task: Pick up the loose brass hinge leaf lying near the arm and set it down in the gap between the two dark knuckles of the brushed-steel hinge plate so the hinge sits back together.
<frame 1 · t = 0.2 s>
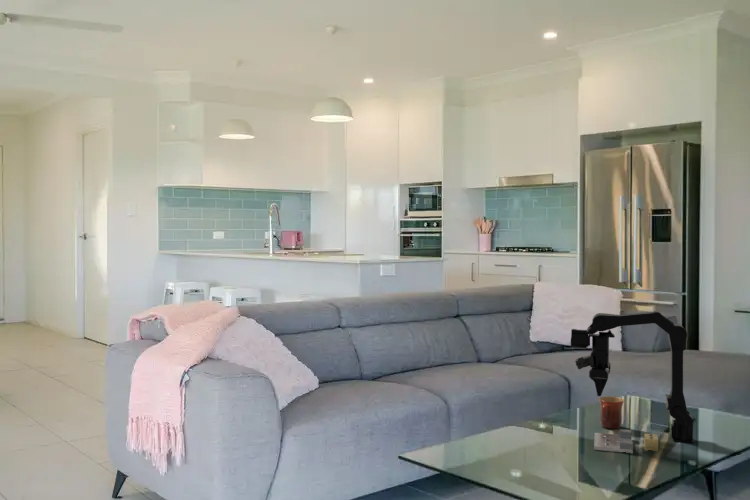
hand: (600, 393, 260), 14 cm above the table, fingers open, 9 cm apart
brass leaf: (650, 448, 244), on the table
mug: (609, 428, 267), on the table
steel hinge plate: (612, 444, 248), on the table
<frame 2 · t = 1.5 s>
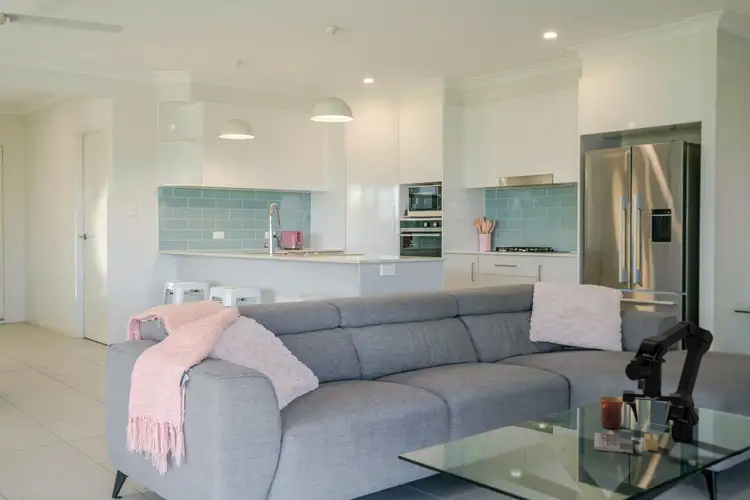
hand: (651, 423, 244), 8 cm above the table, fingers open, 9 cm apart
nothing on the table moved.
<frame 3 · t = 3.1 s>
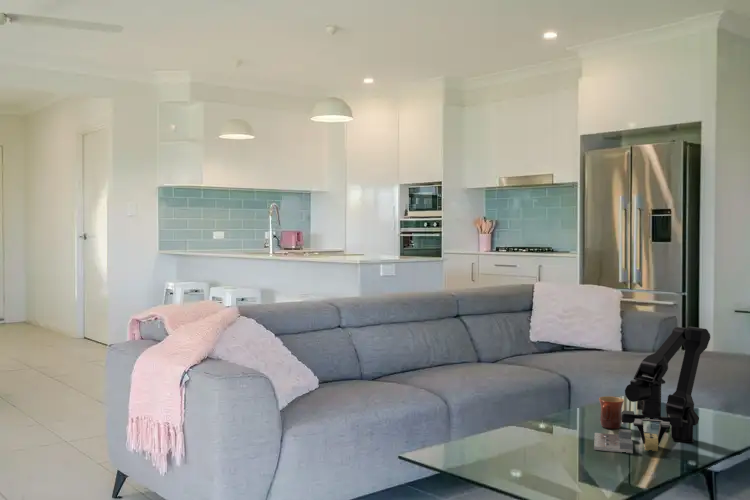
hand: (650, 444, 244), 1 cm above the table, fingers closed on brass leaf, 4 cm apart
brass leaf: (650, 447, 244), on the table, touching gripper
everything else where it was.
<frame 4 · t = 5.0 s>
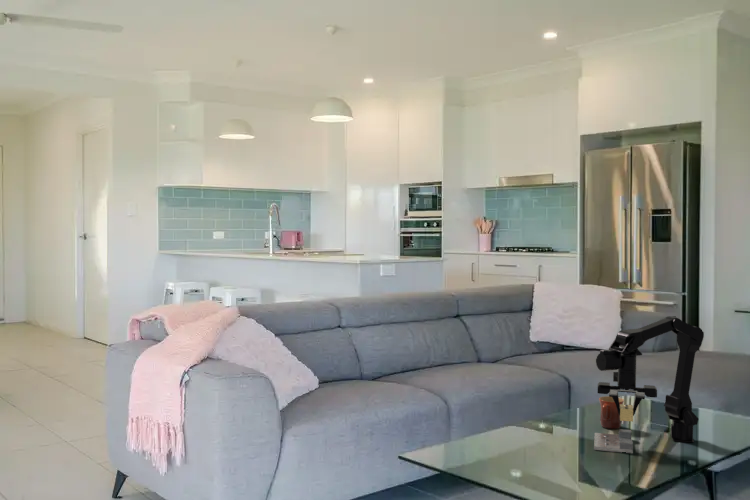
hand: (626, 415, 246), 10 cm above the table, fingers closed on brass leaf, 4 cm apart
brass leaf: (626, 418, 246), point 9 cm above the table, touching gripper
everything else where it was.
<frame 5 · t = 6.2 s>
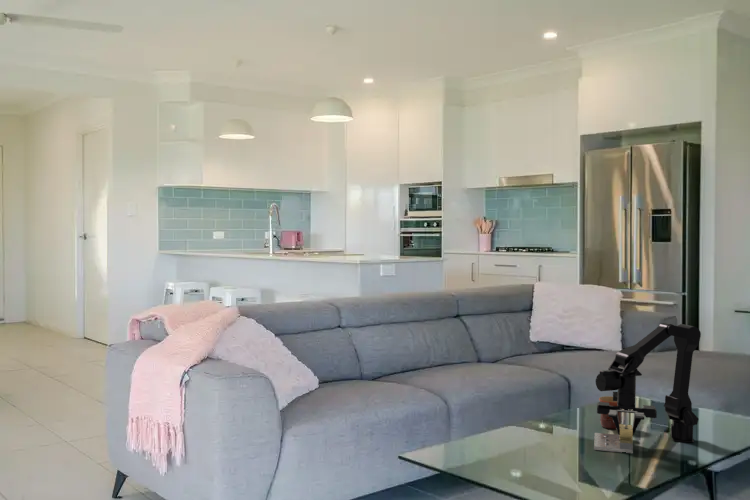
hand: (625, 435, 247), 4 cm above the table, fingers closed on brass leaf, 4 cm apart
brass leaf: (625, 438, 247), point 2 cm above the table, touching gripper
everything else where it was.
when the fingers open (3 cm above the table, at t = 6.8 s): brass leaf drops 1 cm, resting on steel hinge plate.
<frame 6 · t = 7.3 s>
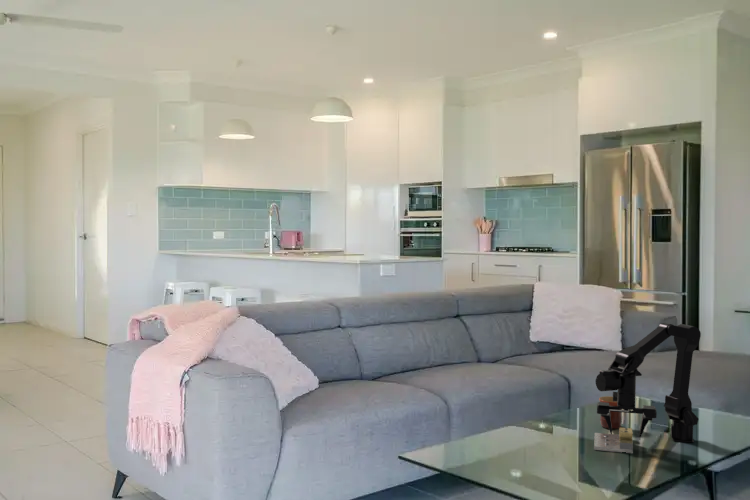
hand: (625, 435, 247), 3 cm above the table, fingers open, 9 cm apart
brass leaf: (625, 442, 247), point 1 cm above the table, touching steel hinge plate
everything else where it was.
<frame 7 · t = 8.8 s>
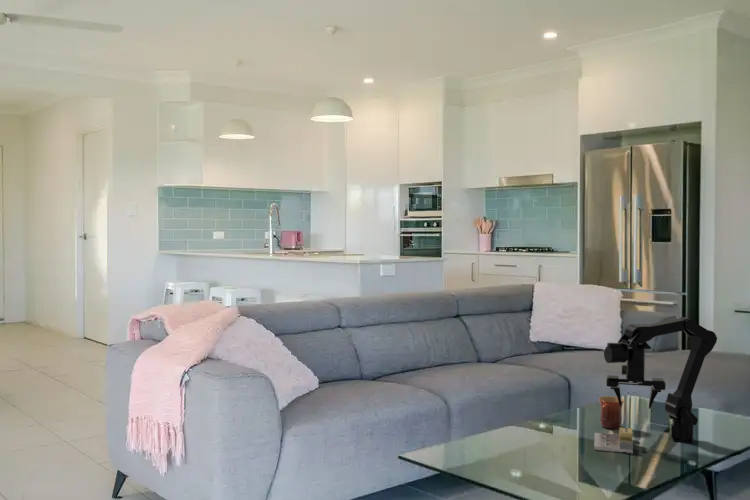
hand: (635, 407, 250), 12 cm above the table, fingers open, 9 cm apart
nothing on the table moved.
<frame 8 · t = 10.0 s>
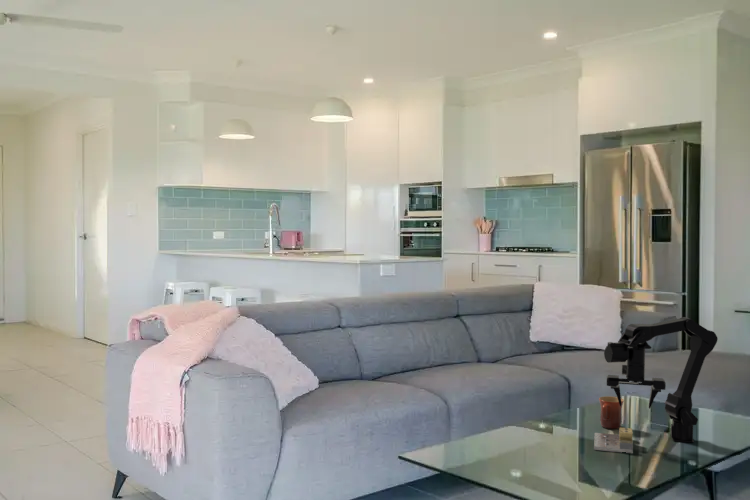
hand: (634, 407, 250), 12 cm above the table, fingers open, 9 cm apart
nothing on the table moved.
at the end: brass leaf inside the target area on the steel hinge plate (0.0 cm from its centre), point 1.2 cm above the steel hinge plate's base; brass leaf tilted 0°; the gripper is holding nothing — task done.
